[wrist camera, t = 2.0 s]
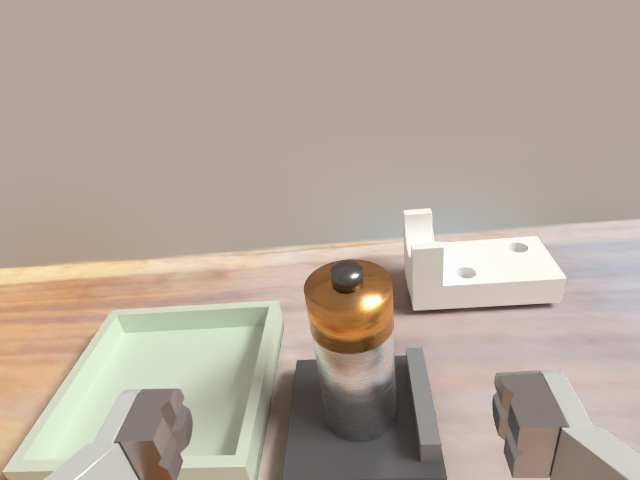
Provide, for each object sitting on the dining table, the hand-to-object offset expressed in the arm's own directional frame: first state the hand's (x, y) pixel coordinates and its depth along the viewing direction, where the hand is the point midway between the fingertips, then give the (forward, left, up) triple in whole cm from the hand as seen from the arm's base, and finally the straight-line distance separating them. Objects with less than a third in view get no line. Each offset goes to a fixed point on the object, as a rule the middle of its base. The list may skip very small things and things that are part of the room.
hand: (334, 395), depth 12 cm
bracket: (+11, +28, -19) cm, 36 cm away
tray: (-15, +16, -19) cm, 29 cm away
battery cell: (0, +13, -17) cm, 22 cm away
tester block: (0, +13, -19) cm, 23 cm away
